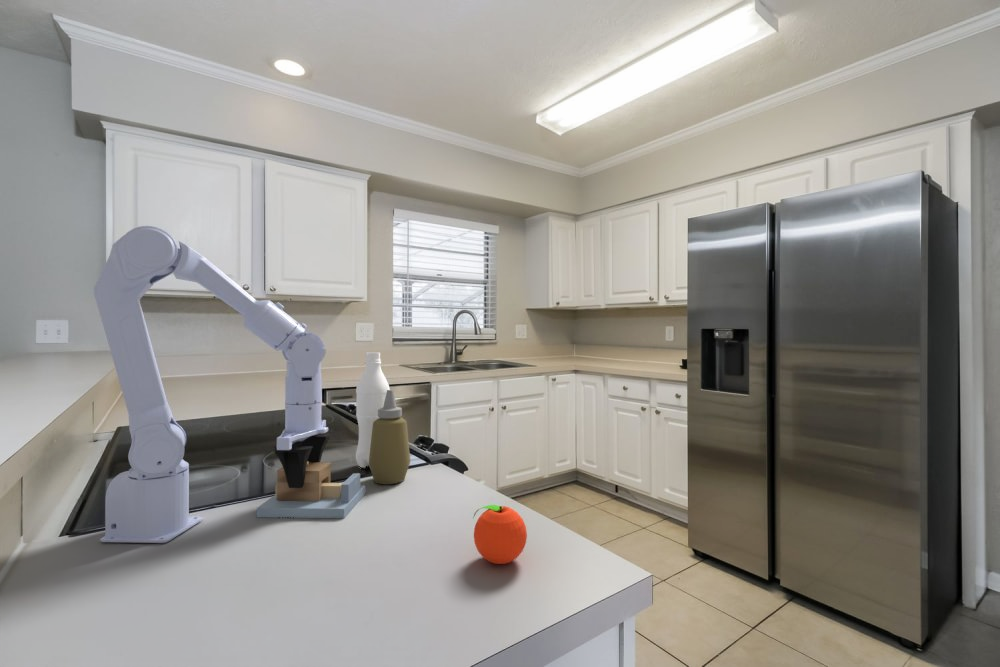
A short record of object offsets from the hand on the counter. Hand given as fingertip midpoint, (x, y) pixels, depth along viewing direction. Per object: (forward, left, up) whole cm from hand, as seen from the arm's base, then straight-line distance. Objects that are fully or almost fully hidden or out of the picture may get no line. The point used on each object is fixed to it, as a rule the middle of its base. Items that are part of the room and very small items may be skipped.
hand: (303, 481), depth 78 cm
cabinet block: (0, 0, -2) cm, 2 cm away
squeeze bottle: (+12, +13, -4) cm, 18 cm away
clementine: (+34, -18, -4) cm, 38 cm away
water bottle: (+6, +22, -4) cm, 23 cm away
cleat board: (+2, 0, -4) cm, 4 cm away
